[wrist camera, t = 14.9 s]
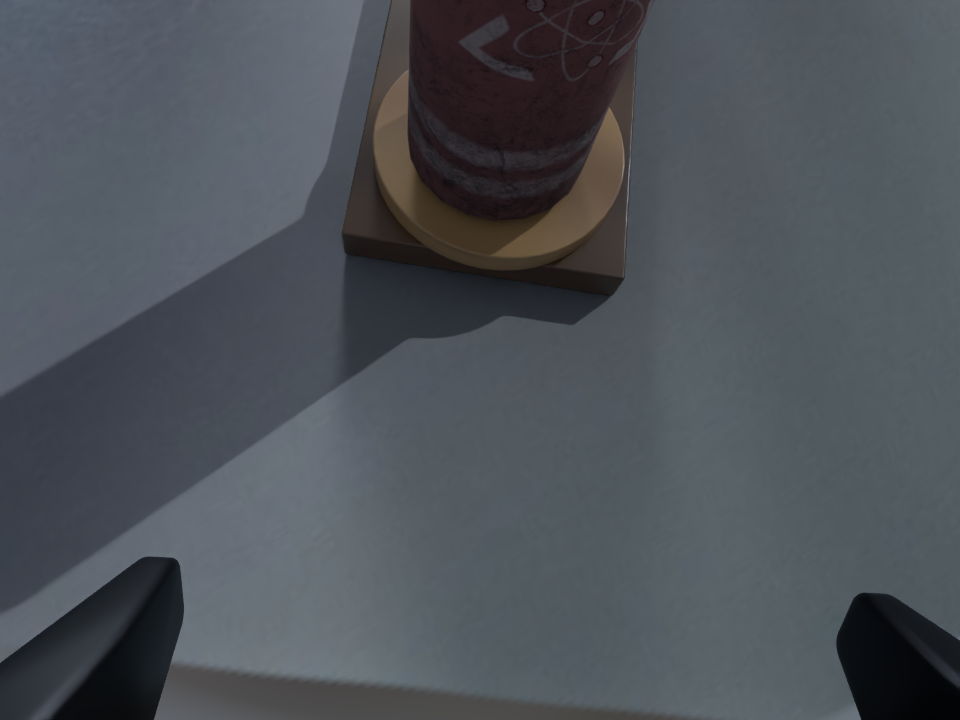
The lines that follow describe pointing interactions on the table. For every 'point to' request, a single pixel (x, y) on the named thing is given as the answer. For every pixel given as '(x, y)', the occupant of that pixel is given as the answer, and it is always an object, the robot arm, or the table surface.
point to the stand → (477, 241)
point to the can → (512, 96)
